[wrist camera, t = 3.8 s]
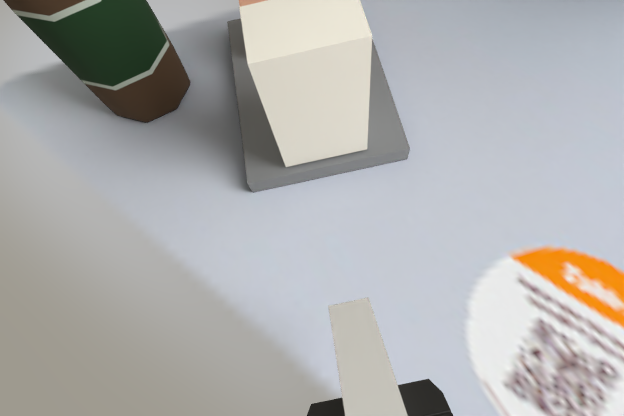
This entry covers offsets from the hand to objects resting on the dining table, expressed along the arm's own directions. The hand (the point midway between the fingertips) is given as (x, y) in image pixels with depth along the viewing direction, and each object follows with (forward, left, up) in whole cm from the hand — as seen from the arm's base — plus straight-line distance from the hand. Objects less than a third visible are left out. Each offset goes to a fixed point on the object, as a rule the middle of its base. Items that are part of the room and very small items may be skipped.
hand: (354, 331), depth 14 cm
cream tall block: (-1, -15, -8) cm, 17 cm away
